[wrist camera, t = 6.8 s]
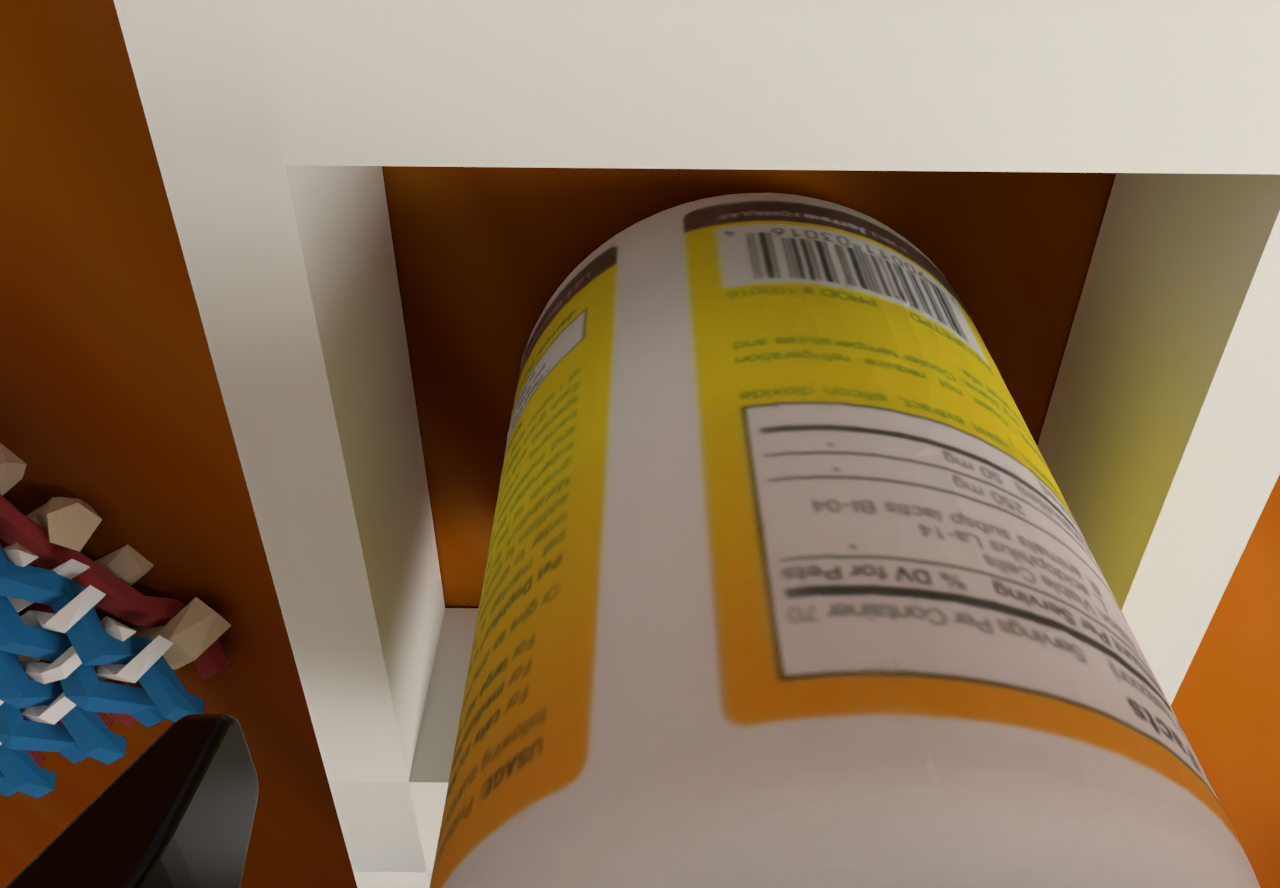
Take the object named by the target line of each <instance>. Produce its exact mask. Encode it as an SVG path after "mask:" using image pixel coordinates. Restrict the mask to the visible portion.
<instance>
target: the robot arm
mask: <svg viewBox="0 0 1280 888" xmlns="http://www.w3.org/2000/svg"><path fill="white" fill-rule="evenodd" d="M257 800H258V777H257V772H256V769H255V766H254V763H253V760H252V757H251V754H250V751H249V748H248V746H247V743H246V740H245V737H244V734H243V731H242V728H241V725H240V723H239V721H238V720H237V719H236V718H235V717H234V716H232V715H228V714H190V715H186V716H184V717H182V718H180V719H179V720H177V721H176V722H175V723H174V724H172V725H171V726H170V727H169V728H168V729H167V730H166V731H165V732H164V733H163V734H162V735H161V736H160V737H159V738H158V739H157V740H156V741H155V742H154V743H153V744H152V745H151V746H150V747H149V748H148V749H147V750H146V751H145V752H144V753H143V754H142V755H141V756H140V757H139V758H138V759H137V760H136V761H135V762H134V763H133V764H132V765H131V766H130V767H128V768H127V769H126V770H125V771H124V772H123V773H122V774H121V775H120V776H119V777H118V778H117V779H116V780H115V781H114V782H113V783H112V784H111V785H110V786H109V787H108V788H107V789H106V790H105V791H104V792H103V793H102V794H101V795H100V796H99V797H98V798H97V799H96V800H95V801H94V802H93V803H92V804H91V805H90V806H89V807H88V808H87V809H86V810H84V811H83V812H82V813H81V814H80V815H79V816H78V817H77V818H76V819H75V820H74V821H73V822H72V823H71V824H70V825H69V826H68V827H67V828H66V829H65V830H64V831H63V832H62V833H61V834H60V835H59V836H58V837H57V838H56V839H55V840H54V841H53V842H52V843H51V844H50V845H49V846H48V847H47V848H46V849H45V850H44V851H43V852H41V853H40V854H39V855H38V856H37V857H36V858H35V859H34V860H33V861H32V862H31V863H30V864H29V865H28V866H27V867H26V868H25V869H24V870H23V871H22V872H21V873H20V874H19V875H18V876H17V877H16V878H15V879H14V880H13V881H12V882H11V883H10V884H9V885H8V886H7V887H6V888H240V885H241V880H242V875H243V870H244V865H245V860H246V855H247V850H248V846H249V841H250V836H251V831H252V826H253V821H254V816H255V811H256V806H257Z"/></svg>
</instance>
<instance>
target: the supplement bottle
mask: <svg viewBox="0 0 1280 888" xmlns="http://www.w3.org/2000/svg"><path fill="white" fill-rule="evenodd" d="M430 888H1260V885H1259V883H1258V881H1257V878H1256V876H1255V874H1254V871H1253V869H1252V867H1251V864H1250V862H1249V860H1248V858H1247V856H1246V854H1245V851H1244V849H1243V847H1242V845H1241V843H1240V841H1239V839H1238V837H1237V834H1236V832H1235V830H1234V828H1233V826H1232V824H1231V822H1230V820H1229V818H1228V816H1227V814H1226V812H1225V811H1224V809H1223V807H1222V805H1221V804H1220V802H1219V800H1218V798H1217V796H1216V794H1215V793H1214V791H1213V789H1212V787H1211V785H1210V783H1209V781H1208V779H1207V777H1206V775H1205V773H1204V771H1203V769H1202V767H1201V765H1200V763H1199V761H1198V759H1197V757H1196V755H1195V753H1194V751H1193V749H1192V747H1191V746H1190V744H1189V742H1188V740H1187V738H1186V736H1185V734H1184V732H1183V730H1182V728H1181V726H1180V724H1179V722H1178V720H1177V718H1176V716H1175V714H1174V712H1173V710H1172V708H1171V706H1170V704H1169V702H1168V700H1167V698H1166V696H1165V694H1164V693H1163V691H1162V689H1161V687H1160V685H1159V683H1158V681H1157V679H1156V677H1155V675H1154V673H1153V671H1152V669H1151V667H1150V665H1149V663H1148V662H1147V660H1146V658H1145V656H1144V654H1143V652H1142V650H1141V648H1140V646H1139V644H1138V642H1137V640H1136V638H1135V636H1134V634H1133V632H1132V631H1131V629H1130V627H1129V625H1128V623H1127V621H1126V619H1125V617H1124V615H1123V613H1122V611H1121V609H1120V607H1119V605H1118V603H1117V601H1116V599H1115V597H1114V596H1113V594H1112V592H1111V590H1110V588H1109V586H1108V584H1107V582H1106V580H1105V578H1104V576H1103V574H1102V572H1101V570H1100V568H1099V566H1098V564H1097V562H1096V560H1095V559H1094V557H1093V555H1092V553H1091V551H1090V549H1089V547H1088V545H1087V543H1086V541H1085V539H1084V536H1083V534H1082V532H1081V530H1080V529H1079V527H1078V525H1077V523H1076V521H1075V519H1074V518H1073V516H1072V514H1071V512H1070V510H1069V508H1068V506H1067V504H1066V502H1065V500H1064V498H1063V495H1062V493H1061V491H1060V489H1059V487H1058V485H1057V483H1056V481H1055V479H1054V478H1053V476H1052V474H1051V472H1050V470H1049V468H1048V466H1047V464H1046V462H1045V460H1044V459H1043V457H1042V455H1041V453H1040V451H1039V449H1038V447H1037V445H1036V443H1035V441H1034V439H1033V437H1032V435H1031V433H1030V431H1029V429H1028V427H1027V425H1026V423H1025V421H1024V419H1023V417H1022V415H1021V413H1020V411H1019V410H1018V408H1017V406H1016V404H1015V402H1014V400H1013V398H1012V396H1011V394H1010V393H1009V391H1008V389H1007V387H1006V385H1005V383H1004V381H1003V379H1002V377H1001V375H1000V373H999V371H998V369H997V367H996V365H995V363H994V361H993V359H992V357H991V355H990V354H989V352H988V350H987V348H986V346H985V344H984V342H983V340H982V338H981V336H980V334H979V332H978V330H977V328H976V326H975V324H974V322H973V320H972V318H971V316H970V314H969V312H968V310H967V309H966V307H965V306H964V304H963V303H962V301H961V299H960V298H959V296H958V295H957V293H956V292H955V290H954V289H953V287H952V286H951V285H950V283H949V282H948V281H947V279H946V278H945V276H944V275H943V274H942V273H941V271H940V270H939V269H938V268H937V267H936V266H935V265H934V263H933V262H932V261H931V260H930V259H929V258H928V257H927V256H926V255H925V254H923V253H922V252H921V251H920V250H919V249H918V248H917V247H916V246H914V245H913V244H912V243H911V242H909V241H908V240H907V239H906V238H904V237H903V236H901V235H900V234H898V233H897V232H895V231H894V230H892V229H891V228H889V227H888V226H886V225H884V224H882V223H881V222H879V221H877V220H875V219H874V218H871V217H869V216H867V215H865V214H863V213H861V212H858V211H856V210H853V209H851V208H848V207H845V206H842V205H839V204H836V203H832V202H828V201H824V200H820V199H815V198H810V197H805V196H800V195H795V194H782V193H740V194H729V195H722V196H716V197H710V198H704V199H700V200H696V201H692V202H688V203H684V204H681V205H678V206H675V207H673V208H670V209H667V210H664V211H661V212H659V213H657V214H654V215H652V216H650V217H648V218H646V219H643V220H641V221H639V222H637V223H635V224H634V225H632V226H630V227H628V228H627V229H625V230H623V231H621V232H620V233H618V234H616V235H615V236H614V237H612V238H611V239H609V240H608V241H607V242H605V243H604V244H602V245H601V246H600V247H599V248H597V249H596V250H595V251H594V252H592V253H591V254H590V255H589V256H588V257H587V258H586V259H585V260H583V261H582V262H581V263H580V264H579V265H578V266H577V267H576V268H575V269H574V270H573V271H572V272H571V273H570V274H569V276H568V277H567V278H566V279H565V280H564V282H563V283H562V284H561V285H560V286H559V288H558V289H557V290H556V292H555V293H554V294H553V296H552V297H551V299H550V300H549V302H548V303H547V305H546V307H545V309H544V310H543V312H542V314H541V316H540V318H539V320H538V321H537V323H536V325H535V327H534V329H533V331H532V333H531V335H530V338H529V341H528V344H527V346H526V349H525V352H524V355H523V358H522V362H521V367H520V372H519V377H518V382H517V388H516V393H515V399H514V404H513V410H512V415H511V421H510V426H509V431H508V434H507V443H506V449H505V456H504V463H503V468H502V473H501V479H500V486H499V492H498V498H497V504H496V509H495V515H494V520H493V527H492V532H491V539H490V545H489V551H488V557H487V564H486V569H485V574H484V580H483V587H482V592H481V598H480V604H479V609H478V615H477V621H476V627H475V634H474V640H473V646H472V651H471V657H470V662H469V668H468V674H467V679H466V685H465V691H464V698H463V704H462V710H461V716H460V721H459V727H458V733H457V738H456V744H455V749H454V755H453V760H452V766H451V772H450V778H449V783H448V789H447V795H446V801H445V806H444V812H443V817H442V823H441V828H440V834H439V839H438V845H437V850H436V856H435V861H434V867H433V872H432V877H431V883H430Z"/></svg>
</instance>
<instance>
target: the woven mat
mask: <svg viewBox="0 0 1280 888" xmlns="http://www.w3.org/2000/svg"><path fill="white" fill-rule="evenodd" d="M26 465H27V464H26V463H25V462H24V461H22V460H21V459H20V458H19V457H17V456H16V455H15V454H14V453H12V452H11V451H10V450H8V449H7V448H6V447H5V446H3V445H2V444H1V443H0V793H1V794H3V795H4V796H6V797H9V796H11V795H13V794H15V793H17V792H22V793H24V794H27V795H30V796H32V797H35V798H37V799H38V798H40V797H42V796H44V795H45V794H47V793H49V792H51V791H53V790H54V786H55V780H56V773H54V772H51V771H49V770H46V769H44V768H41V765H42V763H43V761H44V759H45V756H44V755H42V754H41V753H39V752H38V751H48V752H57V753H59V754H61V755H63V756H64V757H66V758H67V759H69V760H70V761H71V762H73V763H74V764H76V763H78V762H80V761H82V760H84V759H86V758H88V757H91V758H94V759H96V760H98V761H101V762H103V763H105V764H110V763H112V762H114V761H116V760H118V759H119V758H121V757H123V756H125V752H126V743H127V739H126V738H124V737H122V736H120V735H118V734H116V733H113V732H111V731H109V729H110V727H111V724H112V722H113V719H111V718H110V717H109V716H107V715H106V714H104V713H109V714H111V715H112V716H113V717H114V718H115V719H116V720H118V721H119V722H120V723H121V724H122V725H123V726H125V727H126V728H127V729H128V728H129V727H131V726H133V725H135V724H137V723H139V722H140V723H142V724H143V725H144V726H146V727H147V728H149V727H151V726H153V725H155V724H157V723H159V722H161V721H162V720H163V719H164V718H166V719H169V720H171V721H173V722H176V721H177V720H179V719H180V718H182V717H184V716H186V715H190V714H204V700H203V699H201V698H199V697H197V696H195V695H193V694H191V693H189V692H187V691H186V689H185V688H186V685H184V684H183V683H182V682H180V680H179V679H178V677H177V676H176V674H175V673H174V671H173V670H176V669H178V668H180V667H182V666H184V665H186V664H188V663H190V662H192V661H193V663H194V665H195V667H196V669H197V671H198V673H199V675H200V677H201V679H202V681H203V680H205V679H207V678H209V677H211V676H213V675H215V674H217V673H219V672H221V671H222V670H224V669H225V668H227V667H229V666H230V665H231V663H230V661H229V659H228V657H227V655H226V653H225V651H224V649H223V647H222V645H221V643H220V640H219V637H220V636H221V635H222V634H223V633H224V632H225V631H226V630H227V629H228V628H229V627H230V626H232V625H231V624H229V623H228V622H227V621H226V620H225V619H224V618H222V617H221V616H220V615H219V614H218V613H216V612H215V611H214V610H213V609H211V608H210V607H209V606H207V605H206V604H205V603H204V602H202V601H201V600H200V599H198V598H197V597H195V598H194V599H193V600H192V601H191V602H190V603H189V604H188V605H187V606H185V605H184V604H183V603H182V602H181V601H179V600H178V599H172V598H163V597H153V596H144V595H143V594H141V593H140V592H138V591H137V590H135V589H134V588H132V587H131V586H132V585H133V584H135V583H136V582H137V581H138V580H139V579H140V578H141V577H142V576H144V575H145V574H146V573H147V572H148V571H149V570H150V569H151V568H153V567H154V565H153V564H152V563H151V562H149V561H148V560H147V559H146V558H144V557H143V556H142V555H141V554H139V553H138V552H137V551H135V550H134V549H133V548H132V547H130V546H129V545H128V544H127V545H125V546H123V547H121V548H119V549H117V550H115V551H113V552H111V553H109V554H107V555H105V556H103V557H101V558H99V559H98V560H96V561H92V560H91V559H89V558H88V557H86V556H85V555H83V554H82V553H80V551H81V549H82V548H83V546H84V545H85V544H86V542H87V541H88V539H89V538H90V536H91V535H92V534H93V532H94V531H95V529H96V528H97V526H98V525H99V524H100V522H101V521H102V519H101V518H100V516H99V515H98V514H97V513H96V512H95V511H94V509H93V508H92V507H91V506H90V505H89V504H87V503H86V502H85V501H83V500H82V499H76V498H67V497H53V498H51V499H50V500H49V501H48V502H47V503H46V504H44V505H42V506H41V507H39V508H38V509H36V510H34V511H33V512H31V513H30V514H28V515H26V516H25V515H24V514H22V513H21V512H20V511H19V510H18V509H17V508H15V507H14V506H13V505H12V504H11V503H10V502H9V501H8V500H6V499H5V498H4V497H3V495H4V494H5V493H6V492H7V491H9V490H10V489H11V488H12V487H13V486H14V485H16V484H17V483H18V482H19V481H20V480H21V479H22V478H23V475H24V472H25V468H26ZM34 564H36V565H37V566H39V567H40V568H38V567H34V566H32V565H34ZM98 608H100V609H102V610H104V611H106V612H108V613H110V614H112V615H114V616H116V617H119V618H121V619H123V620H125V621H127V622H129V623H131V624H133V625H137V626H136V627H134V628H132V629H131V628H129V627H127V626H125V625H123V624H121V623H119V622H117V621H115V620H113V619H112V618H110V617H108V616H105V617H104V618H103V619H102V620H100V619H99V617H98V615H97V613H96V611H95V610H96V609H98ZM39 660H46V661H50V662H53V663H52V664H50V663H41V662H38V661H39ZM172 669H173V670H172ZM122 681H124V682H127V683H128V684H130V685H131V686H127V685H125V684H124V683H123V682H122Z"/></svg>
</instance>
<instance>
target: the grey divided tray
mask: <svg viewBox="0 0 1280 888" xmlns="http://www.w3.org/2000/svg"><path fill="white" fill-rule="evenodd" d="M114 4H115V8H116V11H117V15H118V19H119V22H120V26H121V30H122V33H123V37H124V40H125V44H126V48H127V51H128V55H129V59H130V62H131V66H132V70H133V73H134V77H135V80H136V84H137V88H138V91H139V95H140V99H141V102H142V106H143V110H144V113H145V117H146V120H147V124H148V128H149V131H150V135H151V139H152V142H153V146H154V150H155V153H156V157H157V161H158V164H159V168H160V171H161V175H162V179H163V182H164V186H165V190H166V193H167V197H168V201H169V204H170V208H171V211H172V215H173V219H174V222H175V226H176V230H177V233H178V237H179V241H180V244H181V248H182V251H183V255H184V259H185V262H186V266H187V270H188V273H189V277H190V281H191V284H192V288H193V291H194V295H195V299H196V302H197V306H198V310H199V313H200V317H201V321H202V324H203V328H204V331H205V335H206V339H207V342H208V346H209V350H210V353H211V357H212V361H213V364H214V368H215V371H216V375H217V379H218V382H219V386H220V390H221V393H222V397H223V401H224V404H225V408H226V411H227V415H228V419H229V422H230V426H231V430H232V433H233V437H234V441H235V444H236V448H237V451H238V455H239V459H240V462H241V466H242V470H243V473H244V477H245V481H246V484H247V488H248V491H249V495H250V499H251V502H252V506H253V510H254V513H255V517H256V521H257V524H258V528H259V531H260V535H261V539H262V542H263V546H264V550H265V553H266V557H267V561H268V564H269V568H270V571H271V575H272V579H273V582H274V586H275V590H276V593H277V597H278V601H279V604H280V608H281V612H282V615H283V619H284V622H285V626H286V630H287V633H288V637H289V641H290V644H291V648H292V652H293V655H294V659H295V662H296V666H297V670H298V673H299V677H300V681H301V684H302V688H303V692H304V695H305V699H306V702H307V706H308V710H309V713H310V717H311V721H312V724H313V728H314V732H315V735H316V739H317V742H318V746H319V750H320V753H321V757H322V761H323V764H324V768H325V772H326V775H327V779H328V782H329V786H330V790H331V793H332V797H333V801H334V804H335V808H336V812H337V815H338V819H339V822H340V826H341V830H342V833H343V837H344V841H345V844H346V848H347V852H348V855H349V859H350V862H351V866H352V870H353V873H354V877H355V881H356V884H357V888H430V883H431V877H432V872H433V867H434V861H435V856H436V850H437V845H438V839H439V834H440V828H441V823H442V817H443V812H444V806H445V801H446V795H447V789H448V783H449V778H450V772H451V766H452V760H453V755H454V749H455V744H456V738H457V733H458V727H459V721H460V716H461V710H462V704H463V698H464V691H465V685H466V679H467V674H468V668H469V662H470V657H471V651H472V646H473V640H474V634H475V627H476V621H477V615H478V609H479V608H445V603H444V596H443V589H442V582H441V575H440V568H439V561H438V554H437V547H436V540H435V533H434V526H433V519H432V512H431V505H430V498H429V491H428V484H427V477H426V471H425V464H424V457H423V450H422V443H421V436H420V429H419V422H418V415H417V408H416V401H415V394H414V387H413V380H412V373H411V366H410V359H409V352H408V345H407V338H406V331H405V325H404V318H403V311H402V304H401V297H400V290H399V283H398V276H397V269H396V262H395V255H394V248H393V241H392V234H391V227H390V220H389V213H388V206H387V199H386V192H385V185H384V178H383V172H382V166H416V167H523V168H631V169H738V170H846V171H953V172H1061V173H1116V176H1115V180H1114V183H1113V186H1112V190H1111V193H1110V197H1109V200H1108V204H1107V207H1106V211H1105V214H1104V218H1103V221H1102V224H1101V228H1100V231H1099V235H1098V238H1097V242H1096V245H1095V249H1094V252H1093V255H1092V259H1091V262H1090V266H1089V269H1088V273H1087V276H1086V280H1085V283H1084V286H1083V290H1082V293H1081V297H1080V300H1079V304H1078V307H1077V311H1076V314H1075V318H1074V321H1073V324H1072V328H1071V331H1070V335H1069V338H1068V342H1067V345H1066V349H1065V352H1064V355H1063V359H1062V362H1061V366H1060V369H1059V373H1058V376H1057V380H1056V383H1055V386H1054V390H1053V393H1052V397H1051V400H1050V404H1049V407H1048V411H1047V414H1046V418H1045V421H1044V424H1043V428H1042V431H1041V435H1040V438H1039V442H1038V445H1037V447H1038V449H1039V451H1040V453H1041V455H1042V457H1043V459H1044V460H1045V462H1046V464H1047V466H1048V468H1049V470H1050V472H1051V474H1052V476H1053V478H1054V479H1055V481H1056V483H1057V485H1058V487H1059V489H1060V491H1061V493H1062V495H1063V498H1064V500H1065V502H1066V504H1067V506H1068V508H1069V510H1070V512H1071V514H1072V516H1073V518H1074V519H1075V521H1076V523H1077V525H1078V527H1079V529H1080V530H1081V532H1082V534H1083V536H1084V539H1085V541H1086V543H1087V545H1088V547H1089V549H1090V551H1091V553H1092V555H1093V557H1094V559H1095V560H1096V562H1097V564H1098V566H1099V568H1100V570H1101V572H1102V574H1103V576H1104V578H1105V580H1106V582H1107V584H1108V586H1109V588H1110V590H1111V592H1112V594H1113V596H1114V597H1115V599H1116V601H1117V603H1118V605H1119V607H1120V609H1121V611H1122V613H1123V615H1124V617H1125V619H1126V621H1127V623H1128V625H1129V627H1130V629H1131V631H1132V632H1133V634H1134V636H1135V638H1136V640H1137V642H1138V644H1139V646H1140V648H1141V650H1142V652H1143V654H1144V656H1145V658H1146V660H1147V662H1148V663H1149V665H1150V667H1151V669H1152V671H1153V673H1154V675H1155V677H1156V679H1157V681H1158V683H1159V685H1160V687H1161V689H1162V691H1163V693H1164V694H1165V696H1166V698H1167V700H1168V702H1169V704H1170V706H1171V704H1172V702H1173V700H1174V697H1175V695H1176V693H1177V691H1178V689H1179V687H1180V685H1181V683H1182V680H1183V678H1184V676H1185V674H1186V672H1187V670H1188V668H1189V666H1190V663H1191V661H1192V659H1193V657H1194V655H1195V653H1196V651H1197V649H1198V646H1199V644H1200V642H1201V640H1202V638H1203V636H1204V634H1205V632H1206V629H1207V627H1208V625H1209V623H1210V621H1211V619H1212V617H1213V615H1214V612H1215V610H1216V608H1217V606H1218V604H1219V602H1220V600H1221V597H1222V595H1223V593H1224V591H1225V589H1226V587H1227V585H1228V583H1229V580H1230V578H1231V576H1232V574H1233V572H1234V570H1235V568H1236V566H1237V563H1238V561H1239V559H1240V557H1241V555H1242V553H1243V551H1244V549H1245V546H1246V544H1247V542H1248V540H1249V538H1250V536H1251V534H1252V532H1253V529H1254V527H1255V525H1256V523H1257V521H1258V519H1259V517H1260V515H1261V512H1262V510H1263V508H1264V506H1265V504H1266V502H1267V500H1268V498H1269V495H1270V493H1271V491H1272V489H1273V487H1274V485H1275V483H1276V481H1277V478H1278V476H1279V474H1280V0H114Z"/></svg>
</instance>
